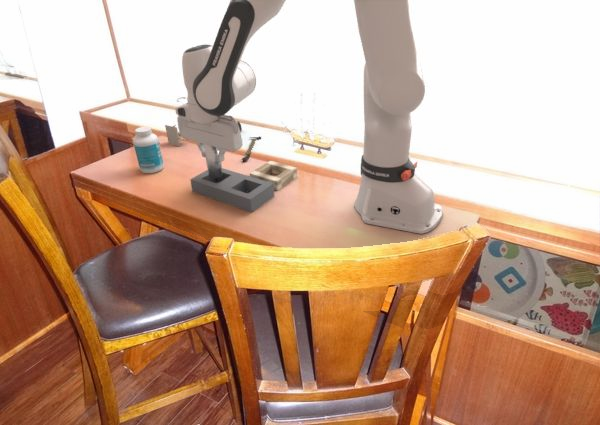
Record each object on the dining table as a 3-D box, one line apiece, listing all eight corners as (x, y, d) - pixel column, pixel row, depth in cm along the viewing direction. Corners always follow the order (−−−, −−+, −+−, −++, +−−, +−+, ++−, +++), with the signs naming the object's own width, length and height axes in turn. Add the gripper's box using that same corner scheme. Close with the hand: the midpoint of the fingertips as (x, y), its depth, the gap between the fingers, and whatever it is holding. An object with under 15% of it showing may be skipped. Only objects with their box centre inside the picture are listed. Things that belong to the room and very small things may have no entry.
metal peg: (225, 173, 125) (221, 141, 119) (216, 179, 122) (211, 146, 116) (215, 170, 126) (210, 138, 121) (205, 176, 124) (200, 143, 118)
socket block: (297, 176, 132) (296, 167, 130) (277, 190, 125) (277, 181, 123) (270, 169, 136) (270, 160, 135) (250, 182, 129) (249, 173, 128)
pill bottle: (167, 170, 138) (158, 130, 131) (144, 176, 135) (133, 135, 128) (160, 162, 143) (151, 122, 136) (137, 167, 140) (127, 128, 133)
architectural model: (175, 141, 159) (171, 121, 155) (189, 144, 156) (186, 125, 152) (168, 144, 157) (164, 125, 153) (182, 148, 154) (179, 128, 150)
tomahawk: (244, 140, 160) (243, 137, 159) (261, 138, 159) (261, 136, 158) (229, 164, 142) (228, 161, 142) (248, 163, 141) (248, 159, 140)
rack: (274, 196, 122) (273, 183, 120) (251, 212, 115) (250, 199, 113) (216, 177, 133) (214, 165, 131) (192, 191, 126) (190, 179, 124)
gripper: (244, 113, 111) (249, 162, 119) (187, 101, 121) (195, 147, 128) (228, 121, 107) (234, 171, 114) (170, 107, 117) (179, 155, 124)
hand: (213, 158), depth 121 cm, fingers closed on metal peg, 4 cm apart
